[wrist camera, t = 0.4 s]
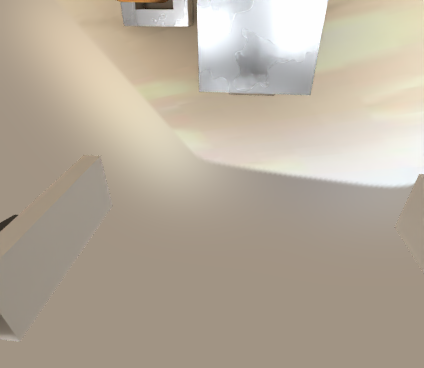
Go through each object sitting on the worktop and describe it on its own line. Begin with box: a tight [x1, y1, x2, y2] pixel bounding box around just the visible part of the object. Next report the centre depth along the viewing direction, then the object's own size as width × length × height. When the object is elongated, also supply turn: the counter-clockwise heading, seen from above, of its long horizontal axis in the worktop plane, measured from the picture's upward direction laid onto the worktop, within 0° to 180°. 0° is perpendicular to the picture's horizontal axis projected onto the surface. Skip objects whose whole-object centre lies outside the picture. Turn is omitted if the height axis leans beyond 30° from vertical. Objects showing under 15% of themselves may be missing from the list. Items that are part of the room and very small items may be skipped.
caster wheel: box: [197, 0, 328, 96], centre depth 25 cm, size 11×8×15 cm
